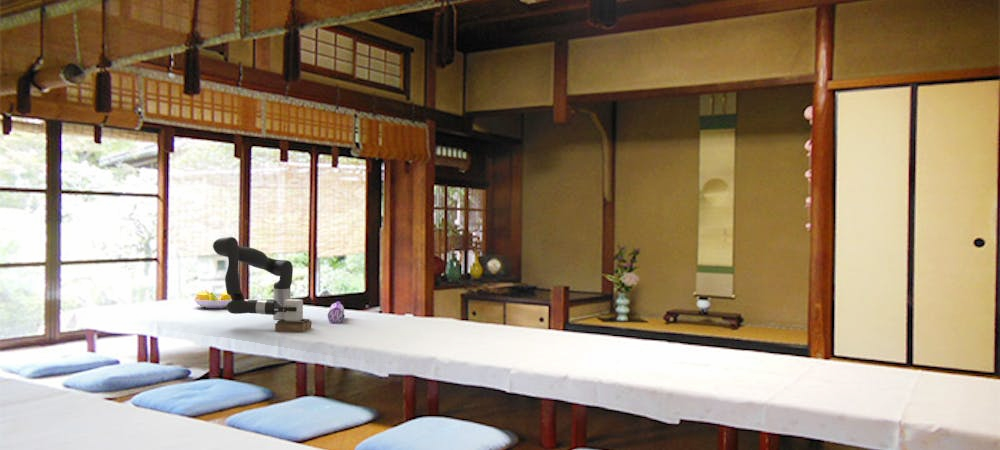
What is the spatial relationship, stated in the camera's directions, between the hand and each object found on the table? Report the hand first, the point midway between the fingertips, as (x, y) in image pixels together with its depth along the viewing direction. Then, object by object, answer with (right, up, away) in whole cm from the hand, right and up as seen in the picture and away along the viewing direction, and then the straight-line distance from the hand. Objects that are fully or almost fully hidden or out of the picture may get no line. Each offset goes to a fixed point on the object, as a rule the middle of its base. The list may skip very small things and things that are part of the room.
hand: (298, 308), depth 365 cm
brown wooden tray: (-3, -11, 0) cm, 11 cm away
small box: (-3, -6, 0) cm, 7 cm away
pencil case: (+11, -11, +35) cm, 38 cm away
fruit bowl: (-73, -8, +75) cm, 104 cm away
